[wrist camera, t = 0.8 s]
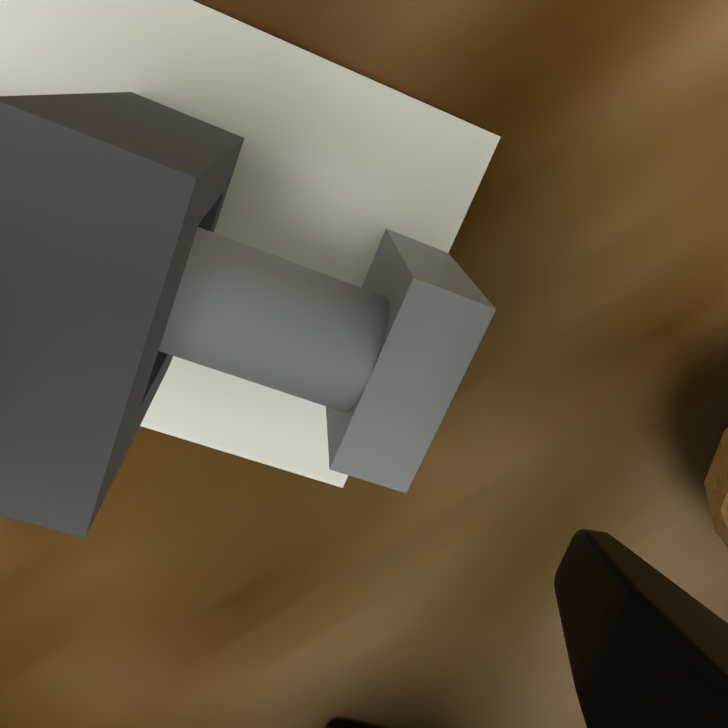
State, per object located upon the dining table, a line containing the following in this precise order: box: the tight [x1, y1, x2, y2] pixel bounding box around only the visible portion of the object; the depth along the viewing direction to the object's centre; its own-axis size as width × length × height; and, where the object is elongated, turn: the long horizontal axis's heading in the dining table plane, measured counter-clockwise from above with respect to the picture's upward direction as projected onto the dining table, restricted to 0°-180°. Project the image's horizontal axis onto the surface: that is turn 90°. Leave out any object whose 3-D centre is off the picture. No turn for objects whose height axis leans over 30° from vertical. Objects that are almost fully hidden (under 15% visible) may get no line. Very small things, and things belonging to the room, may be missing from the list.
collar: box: [0, 92, 244, 538], centre depth 15 cm, size 3×7×8 cm, turn 158°
